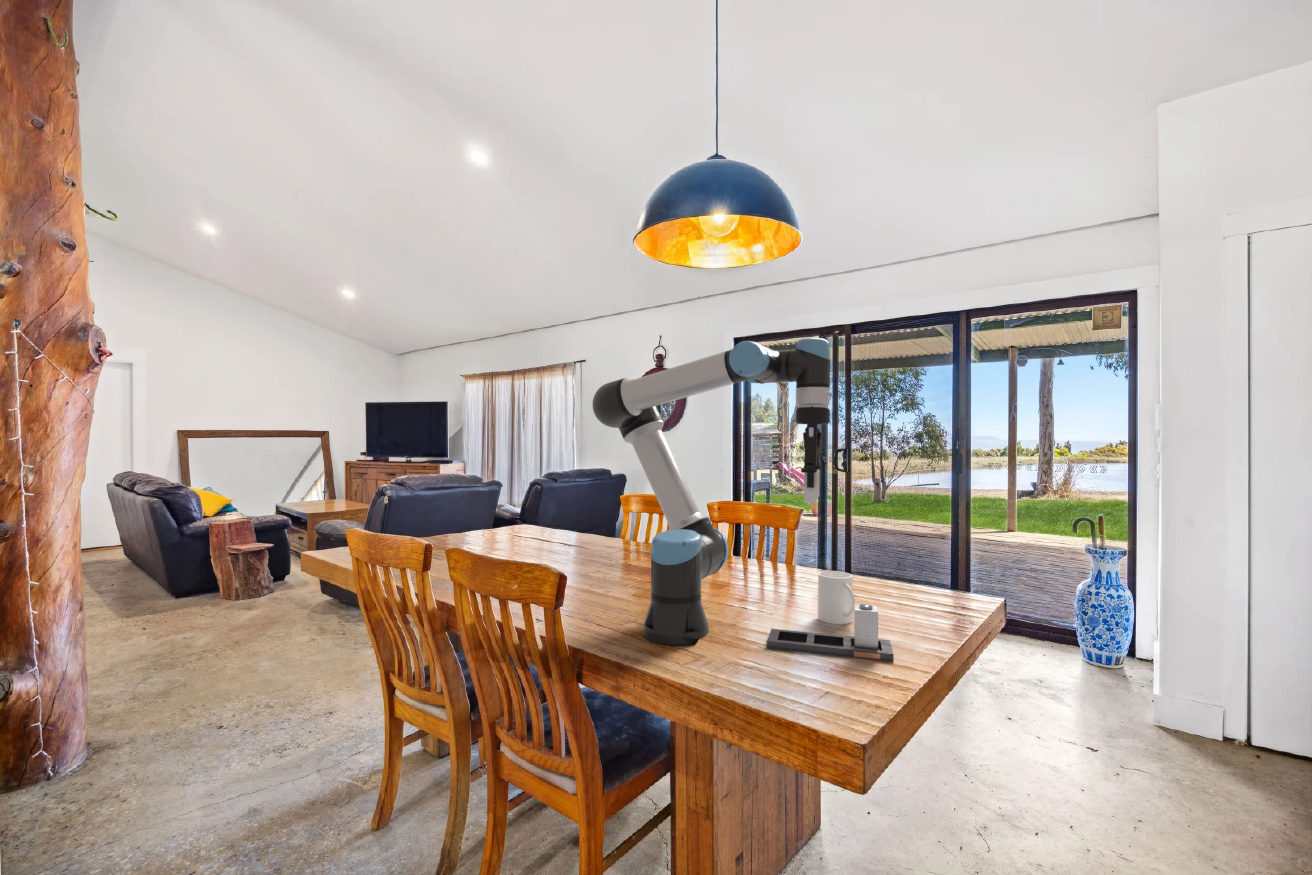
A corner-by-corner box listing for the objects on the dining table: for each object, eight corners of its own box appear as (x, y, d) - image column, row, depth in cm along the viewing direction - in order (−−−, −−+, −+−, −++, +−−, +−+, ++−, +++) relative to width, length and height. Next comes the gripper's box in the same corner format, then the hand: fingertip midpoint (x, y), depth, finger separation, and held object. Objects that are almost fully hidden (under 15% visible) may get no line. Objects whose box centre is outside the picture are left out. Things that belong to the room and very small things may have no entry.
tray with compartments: (767, 652, 124) (767, 641, 124) (771, 639, 132) (771, 628, 132) (893, 666, 117) (893, 654, 117) (889, 651, 125) (889, 640, 125)
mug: (867, 631, 138) (867, 580, 138) (834, 633, 136) (834, 582, 136) (841, 616, 150) (841, 569, 150) (811, 618, 148) (811, 571, 148)
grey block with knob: (854, 653, 121) (854, 607, 121) (854, 646, 125) (854, 601, 125) (878, 656, 119) (878, 609, 119) (876, 648, 124) (876, 603, 124)
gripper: (828, 403, 121) (827, 506, 121) (830, 409, 145) (830, 495, 145) (791, 404, 123) (790, 504, 123) (799, 409, 147) (799, 493, 147)
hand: (812, 499), depth 134 cm, fingers open, 13 cm apart
